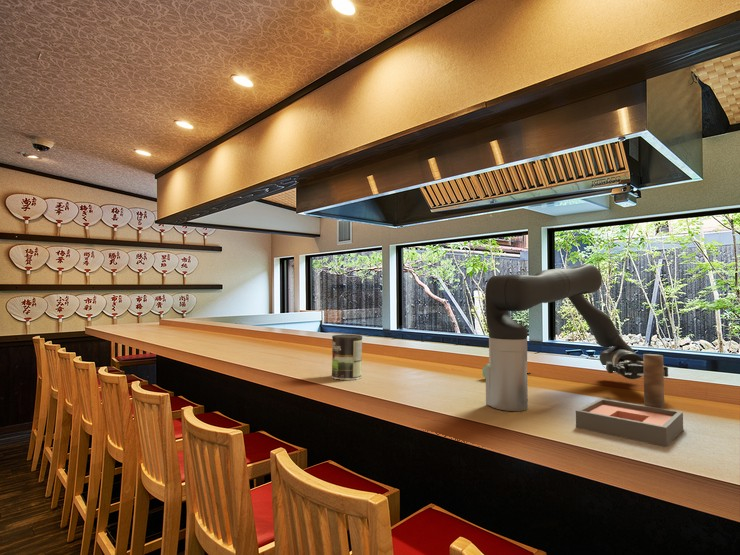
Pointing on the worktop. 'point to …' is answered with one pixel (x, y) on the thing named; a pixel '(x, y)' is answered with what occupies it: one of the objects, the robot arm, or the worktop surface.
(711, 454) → the worktop surface
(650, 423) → the bore box
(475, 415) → the worktop surface
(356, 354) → the coffee can
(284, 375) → the worktop surface
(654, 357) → the dowel
